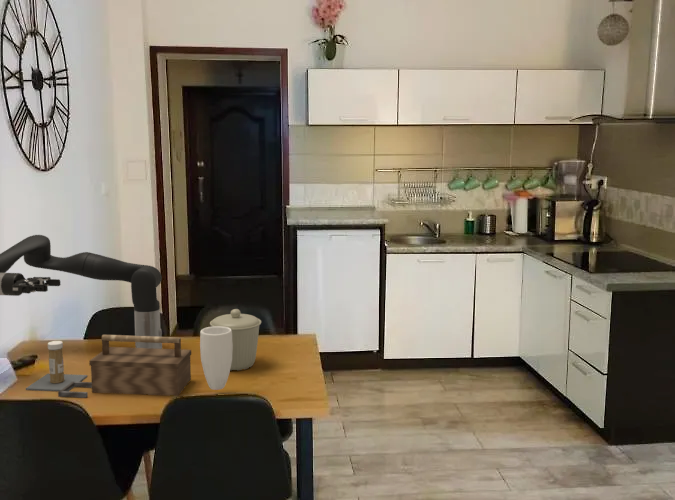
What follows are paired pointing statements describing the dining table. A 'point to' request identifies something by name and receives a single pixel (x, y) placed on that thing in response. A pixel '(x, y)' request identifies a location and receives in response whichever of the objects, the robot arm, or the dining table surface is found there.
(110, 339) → the toolbox
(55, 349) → the sprinkles bottle
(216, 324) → the canister
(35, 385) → the slate mat
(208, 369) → the cup
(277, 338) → the dining table surface
